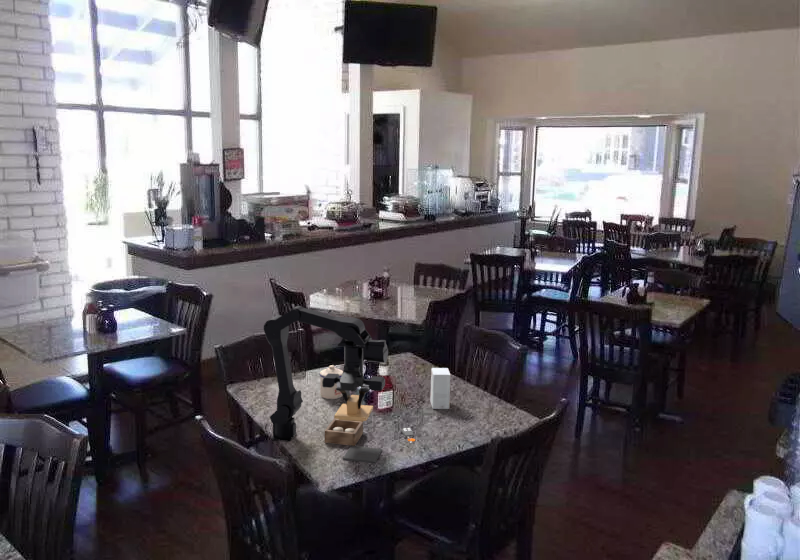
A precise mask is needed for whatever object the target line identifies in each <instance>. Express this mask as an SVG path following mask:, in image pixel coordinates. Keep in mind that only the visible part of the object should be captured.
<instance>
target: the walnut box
mask: <svg viewBox="0 0 800 560" xmlns="http://www.w3.org/2000/svg"><path fill="white" fill-rule="evenodd" d="M363 434H364V421H363V422H360V421H347V420H339V419H334V418H333V419H332V421H331V422H330V423H329V424H328V426H327V427H326V428H325V430H324V443H325V444H335V445H343V446H344V445H345V446H351V445H352V446H357V443H358V442H359V440H360V439H361V437H362V436H363Z"/></svg>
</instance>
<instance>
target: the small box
mask: <svg viewBox="0 0 800 560" xmlns="http://www.w3.org/2000/svg"><path fill="white" fill-rule="evenodd" d="M430 371H431V372H430V374H431V375H430V376H431V377H430V404H431V409H433V410H449V409H450V405H451V404H450V403H451V399H450V397H451V376H452V374H451V373H450V370H449V368H448V367H431V370H430Z"/></svg>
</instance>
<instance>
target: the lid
mask: <svg viewBox="0 0 800 560" xmlns="http://www.w3.org/2000/svg"><path fill="white" fill-rule="evenodd" d="M358 401H359V394H350V398H349V399H348V401H347V405H346V403H341V405H340V406H339V408H338V409H337V411H336V413H335V414H334V415H333V419H339V420H347V421H360V422H363V423H364V422H367V420H368V419H369V417H370V416H371V414H372V412H373V410H374V405H367V404H366V405H364V404H362V405H361V407H360V409H358Z"/></svg>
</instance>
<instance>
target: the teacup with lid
mask: <svg viewBox="0 0 800 560" xmlns="http://www.w3.org/2000/svg"><path fill="white" fill-rule="evenodd" d="M328 373H332V374H339V378H341V376H342V373H343V369H339V368H337V367H335V365H334V364H332V365H329V366H328V367H327V368H325V369H321V371H320V372H319V379H320V382H319V385H320V387H319V388H320V389H319V390H320V394H319V396H320V397H321V398H323V399H327V400H337V399H340V398H342V397H343V395H342V393H341V392H340V391H338V390H336V388H337V384H335V385H334V386H333V387H332V388H328V387H323V386H322V381H323V378H324V377H325V376H326V375H327V374H328Z"/></svg>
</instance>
